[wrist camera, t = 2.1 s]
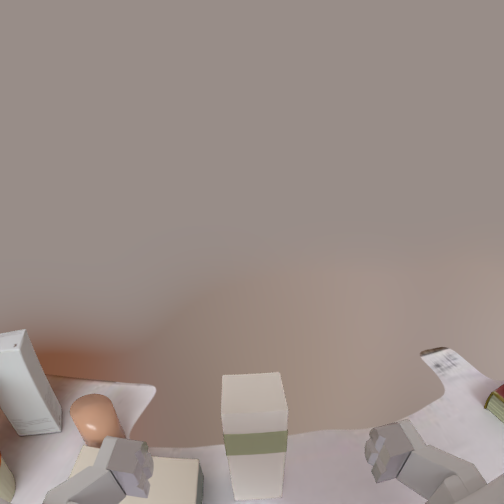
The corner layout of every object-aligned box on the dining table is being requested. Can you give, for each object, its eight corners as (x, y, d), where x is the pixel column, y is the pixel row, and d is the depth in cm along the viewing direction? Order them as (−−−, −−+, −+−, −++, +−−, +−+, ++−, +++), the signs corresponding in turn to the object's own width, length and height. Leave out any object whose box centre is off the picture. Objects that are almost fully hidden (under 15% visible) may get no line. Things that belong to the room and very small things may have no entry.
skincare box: (62, 408, 35) (29, 326, 31) (62, 434, 30) (21, 347, 26) (20, 413, 31) (-17, 332, 27) (16, 438, 26) (-29, 353, 22)
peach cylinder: (129, 426, 34) (118, 396, 33) (119, 457, 28) (104, 427, 27) (93, 421, 34) (79, 391, 32) (80, 449, 28) (63, 419, 26)
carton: (276, 464, 29) (280, 371, 25) (282, 497, 24) (289, 410, 20) (233, 467, 28) (221, 374, 25) (234, 501, 24) (220, 414, 20)
